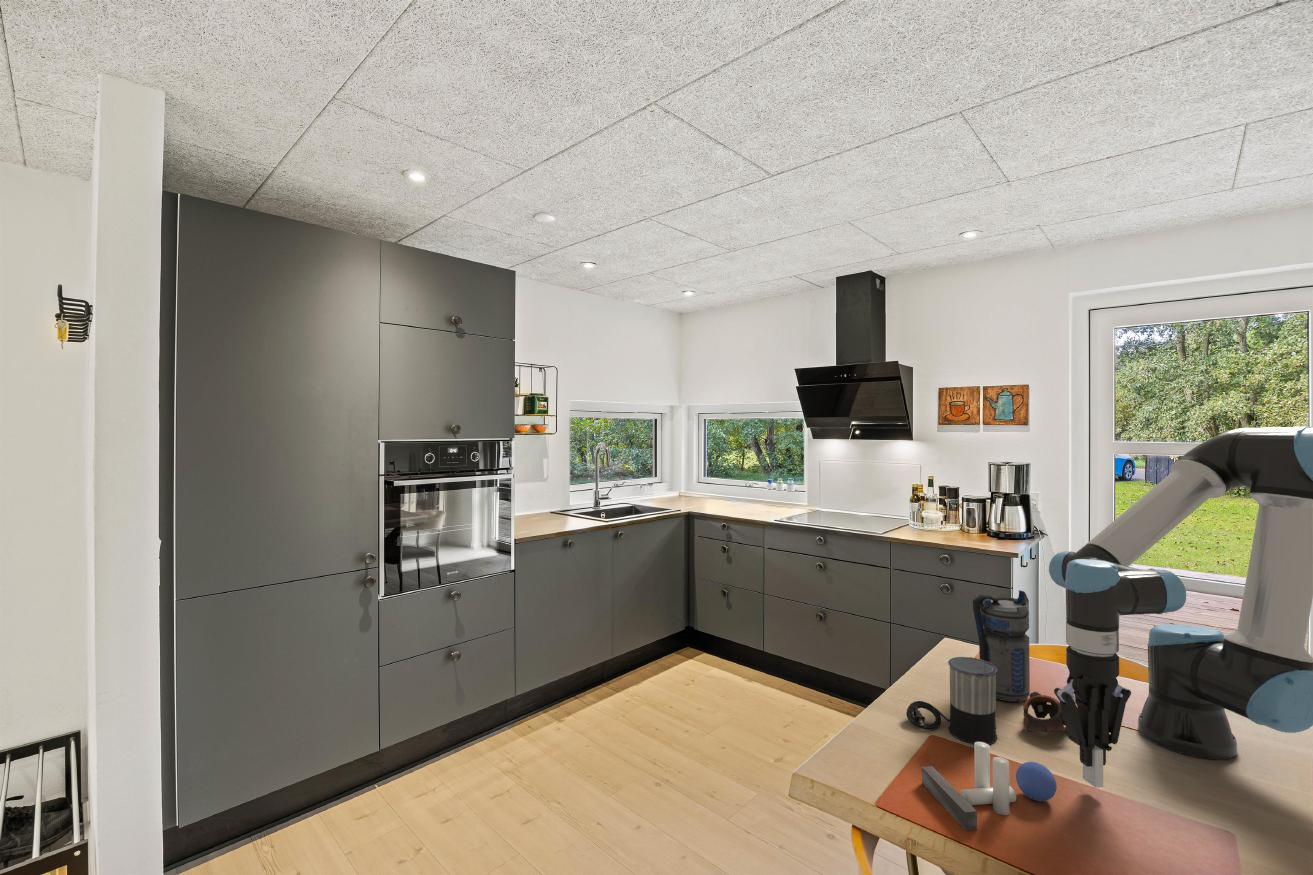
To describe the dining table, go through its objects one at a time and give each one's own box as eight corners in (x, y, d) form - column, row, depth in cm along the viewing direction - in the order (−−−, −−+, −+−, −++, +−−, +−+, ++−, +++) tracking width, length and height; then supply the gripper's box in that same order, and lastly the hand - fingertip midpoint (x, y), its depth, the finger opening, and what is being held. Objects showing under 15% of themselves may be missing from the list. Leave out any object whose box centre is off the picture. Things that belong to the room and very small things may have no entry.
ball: (1003, 782, 107) (1032, 792, 107) (1027, 802, 101) (1058, 813, 101) (1014, 750, 107) (1043, 760, 108) (1039, 769, 101) (1070, 779, 102)
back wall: (932, 782, 109) (932, 765, 109) (977, 829, 96) (977, 811, 96) (921, 783, 109) (921, 766, 109) (965, 830, 96) (965, 812, 96)
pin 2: (1003, 805, 102) (1002, 756, 102) (1012, 814, 100) (1012, 764, 100) (989, 806, 102) (989, 757, 102) (999, 815, 100) (998, 765, 100)
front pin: (1007, 782, 105) (961, 786, 104) (1016, 791, 102) (969, 795, 102) (1006, 795, 105) (960, 799, 104) (1015, 805, 103) (969, 808, 102)
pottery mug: (1090, 744, 123) (1077, 714, 121) (1045, 760, 124) (1031, 731, 122) (1055, 703, 134) (1043, 675, 132) (1014, 719, 136) (1001, 691, 134)
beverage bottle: (962, 687, 149) (962, 587, 148) (1013, 684, 150) (1013, 585, 149) (988, 705, 139) (987, 598, 138) (1042, 703, 140) (1042, 596, 139)
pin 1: (984, 788, 107) (984, 741, 107) (993, 796, 105) (992, 748, 105) (971, 789, 107) (971, 742, 107) (980, 797, 105) (979, 749, 105)
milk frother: (1008, 743, 122) (1007, 671, 122) (937, 751, 120) (936, 677, 120) (963, 711, 136) (962, 646, 136) (898, 717, 134) (898, 651, 134)
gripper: (1074, 659, 101) (1075, 798, 101) (1145, 655, 102) (1146, 792, 102) (1041, 643, 108) (1042, 773, 108) (1108, 640, 109) (1108, 767, 110)
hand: (1092, 782), depth 105 cm, fingers closed
